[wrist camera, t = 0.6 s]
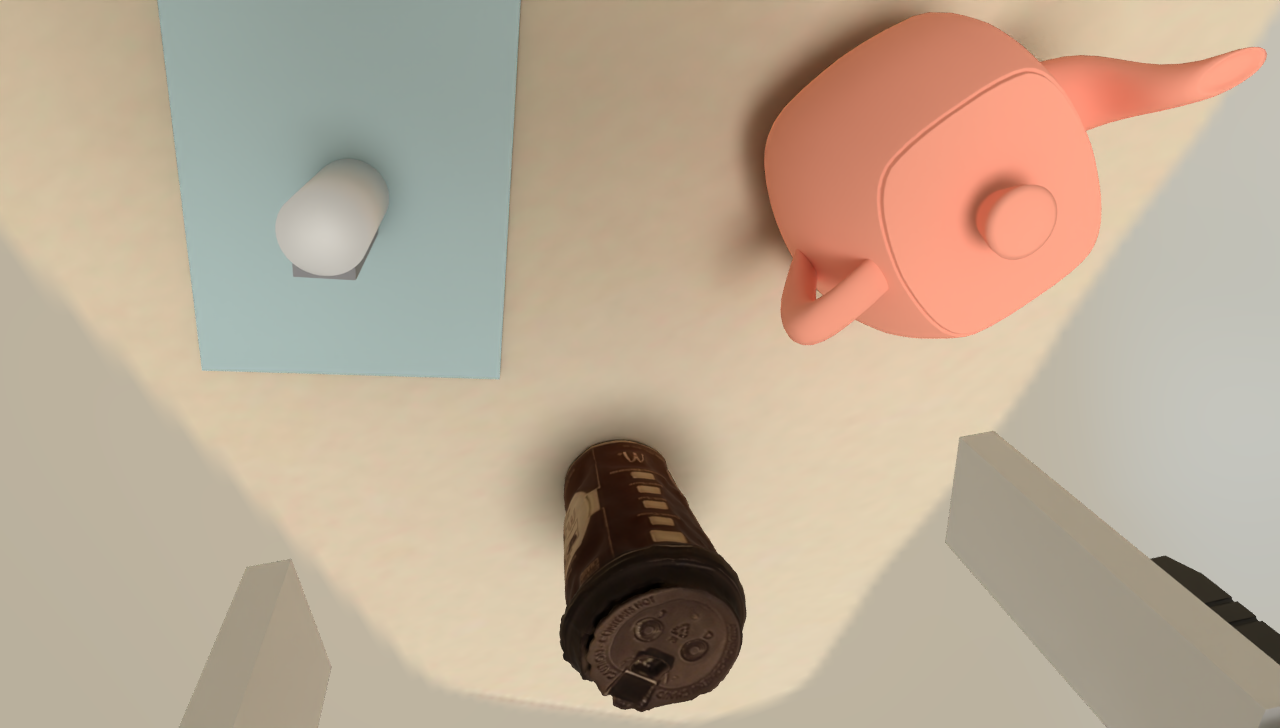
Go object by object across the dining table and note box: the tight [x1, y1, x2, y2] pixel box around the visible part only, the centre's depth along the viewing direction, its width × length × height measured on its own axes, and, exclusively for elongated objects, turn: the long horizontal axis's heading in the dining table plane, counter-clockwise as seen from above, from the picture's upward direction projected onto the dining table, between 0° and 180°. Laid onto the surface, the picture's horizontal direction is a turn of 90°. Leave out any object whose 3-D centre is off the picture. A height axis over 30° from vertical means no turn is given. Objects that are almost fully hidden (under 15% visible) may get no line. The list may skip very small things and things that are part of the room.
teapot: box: [764, 12, 1267, 345], centre depth 33 cm, size 13×20×12 cm
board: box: [157, 0, 521, 379], centre depth 30 cm, size 18×14×8 cm
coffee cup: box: [559, 440, 746, 712], centre depth 37 cm, size 9×8×13 cm
